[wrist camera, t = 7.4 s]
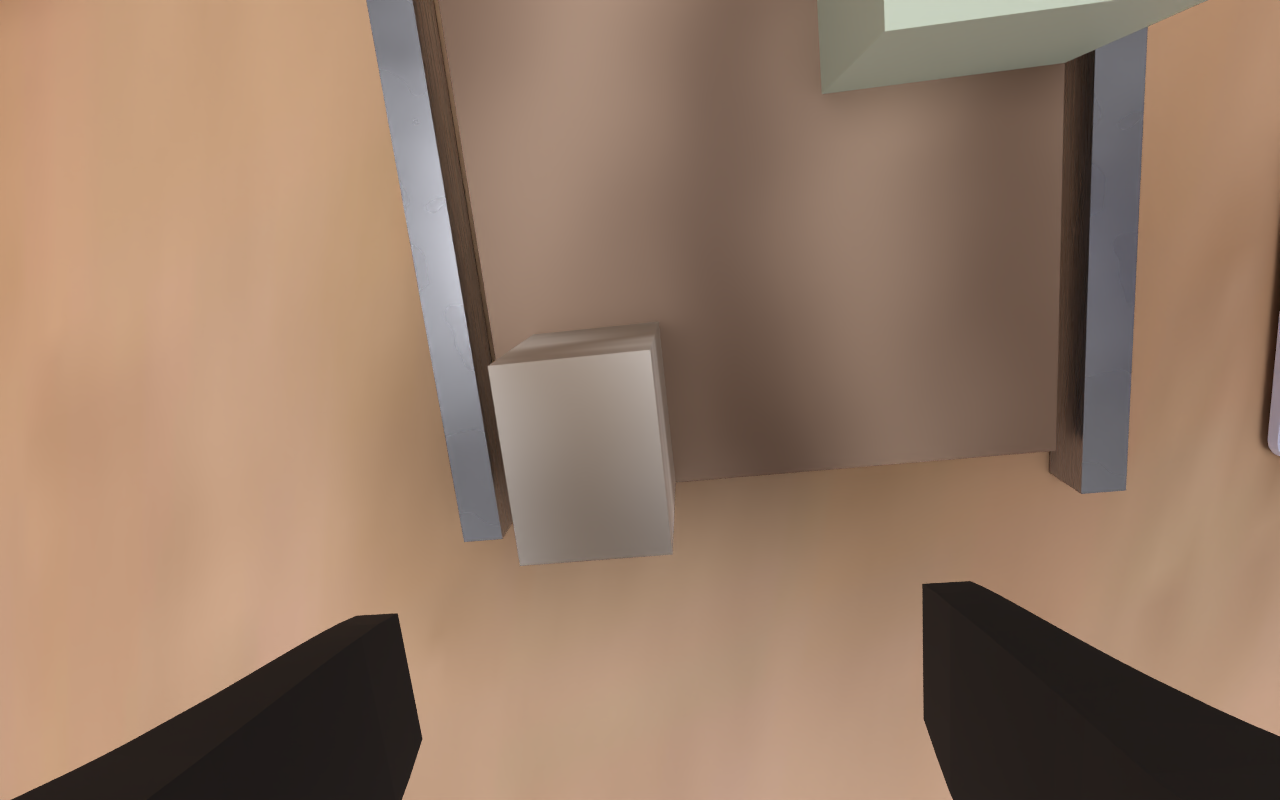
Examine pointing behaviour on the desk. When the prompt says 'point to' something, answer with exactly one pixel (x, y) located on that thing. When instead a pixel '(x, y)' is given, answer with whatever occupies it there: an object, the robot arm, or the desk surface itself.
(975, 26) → the cube
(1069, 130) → the guide rails
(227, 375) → the desk surface
